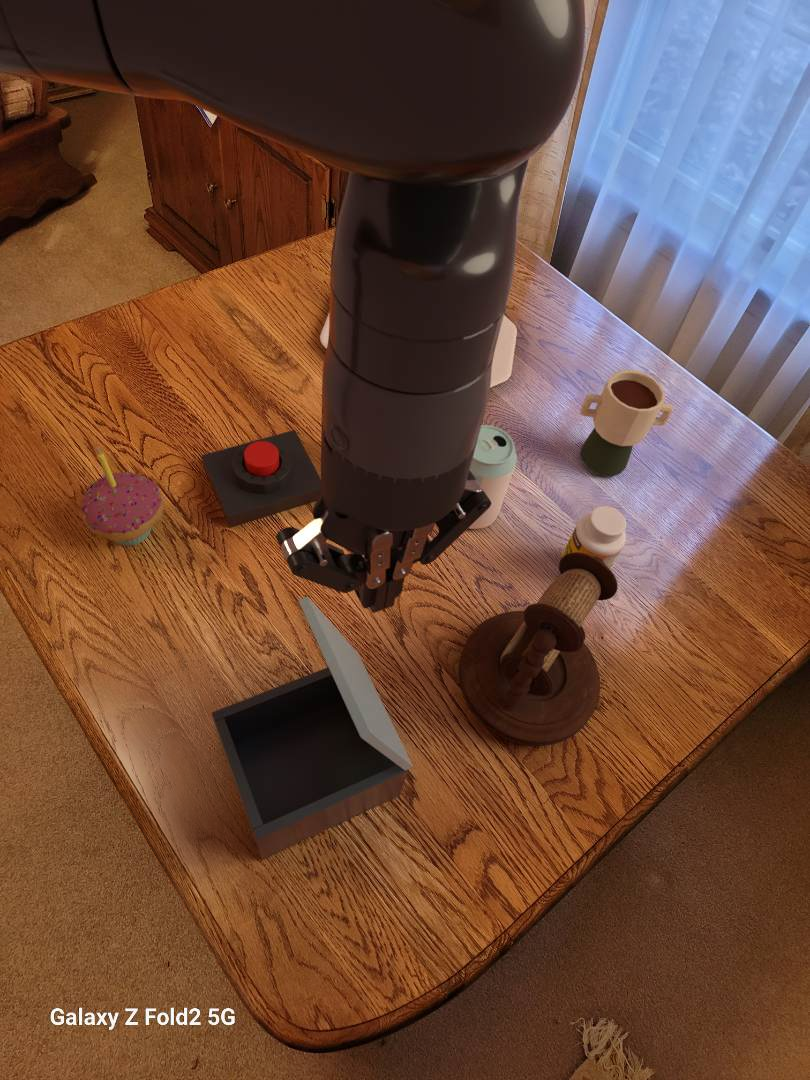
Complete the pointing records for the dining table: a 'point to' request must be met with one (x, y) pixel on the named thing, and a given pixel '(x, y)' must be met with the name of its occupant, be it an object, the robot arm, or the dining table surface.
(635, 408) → the trophy cup
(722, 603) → the dining table surface
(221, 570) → the dining table surface
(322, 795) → the open box
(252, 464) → the button
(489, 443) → the can
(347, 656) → the grey-topped wooden block
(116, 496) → the cupcake
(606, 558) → the supplement bottle
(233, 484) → the button block
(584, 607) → the wooden spool stand
